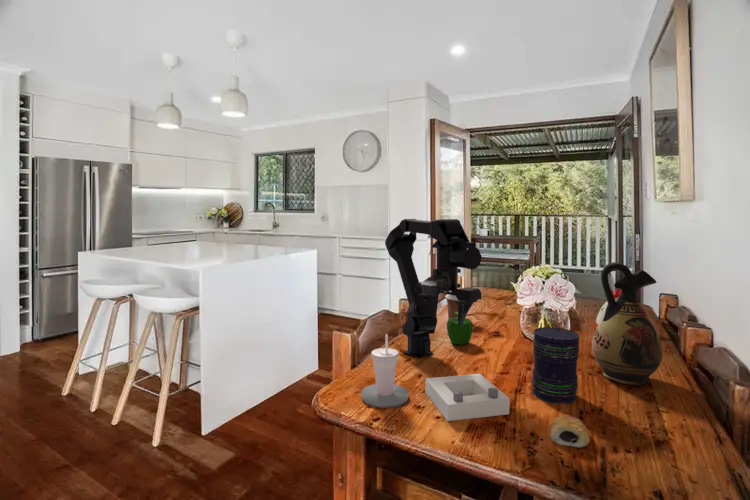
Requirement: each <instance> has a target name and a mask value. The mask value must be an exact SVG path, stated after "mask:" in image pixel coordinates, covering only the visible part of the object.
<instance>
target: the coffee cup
mask: <svg viewBox="0 0 750 500" xmlns="http://www.w3.org/2000/svg"><path fill="white" fill-rule="evenodd" d="M450 292H452V291H450ZM444 298H445V299H446V304H447V306H446V307H447V318H448V319H447V321H448V320H449V318H456V317H458V315H455V312H458V305H457V304H456V302H455V301H458V299H457V297H456V296H455V295H449V294H445V296H444Z"/></svg>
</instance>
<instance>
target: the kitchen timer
mask: <svg viewBox="0 0 750 500" xmlns="http://www.w3.org/2000/svg"><path fill="white" fill-rule="evenodd" d="M610 289H611V292H612V294H613V296H614V299H615V301H617V299H618V298H619V296H620V294H621V292H622V290H621V289H619V288H615V291H613V289H612V288H610ZM618 289H619V290H618ZM607 305H608V302H607V301H606V302H605V303H604V304H603V305H602V306H601V308H600V310H599V312H598V314H597V316H596V321H595V327H596V328H597V326H598V324H599V322H600V321H601V320H602V318H603V317H604V315H605V311H606V307H607Z"/></svg>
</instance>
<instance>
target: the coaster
mask: <svg viewBox="0 0 750 500" xmlns="http://www.w3.org/2000/svg"><path fill="white" fill-rule="evenodd" d="M360 394H361V396H360V399H361V401H362V402H363V403H365V404H366V405H368V406H371V407H373V408H381V409H388V408H396V407H399V406H403V405H405V403H407V402H408V400H409V391H408V389H407V388H406V387H404V386H401V385H400V384H399V385H398V384H395V383H394V388H393V394H392V395H389V396H381V395H379V394H378V393H377V387H376V383H374V384H370V385H368V386H366V387H364V388H363V389H361V391H360Z"/></svg>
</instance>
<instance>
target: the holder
mask: <svg viewBox="0 0 750 500" xmlns="http://www.w3.org/2000/svg"><path fill="white" fill-rule="evenodd" d="M424 380H425V381H424V382H425V386H424V387H425V388H424V389H425V390H424V393H425V394H426V396H427V398H429V399H430V401H432V404H433V405H434V406H435V407H436V409H437V410H438V412H440V414H441V415H442V416H443V417H444V419H445V420H446V422H451V421H452V422H453V421H461V420H469V419H471V420H472V419H478V418H479V419H480V418H487V417H496V416H505V415H510V399H511V398H510V397H509V396H507V395H506V394H505V393H504V392H502V390H500V389H499V388H498V387H497V386H495V385H494V384H493V383H492V382H490V380H488V379H487V378H486V377H484V376H483V374H481V373H472V374H461V375H451V376H439V377H437V376H436V377H427V378H426V377H425V379H424Z"/></svg>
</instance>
